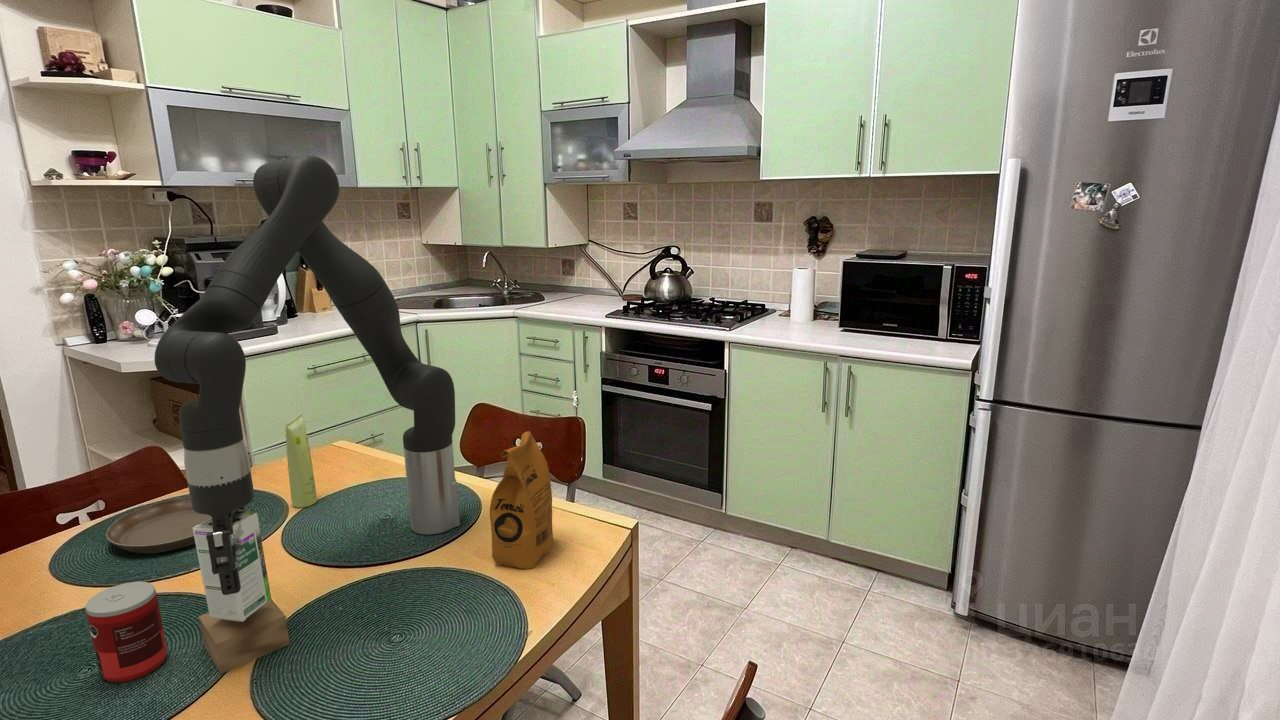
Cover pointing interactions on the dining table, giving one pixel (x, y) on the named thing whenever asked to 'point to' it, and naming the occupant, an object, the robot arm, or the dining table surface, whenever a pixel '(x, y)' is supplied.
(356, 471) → the dining table surface
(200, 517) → the plant saucer
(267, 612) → the base block
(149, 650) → the canned food
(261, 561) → the syrup box
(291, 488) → the tube
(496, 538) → the coffee package
